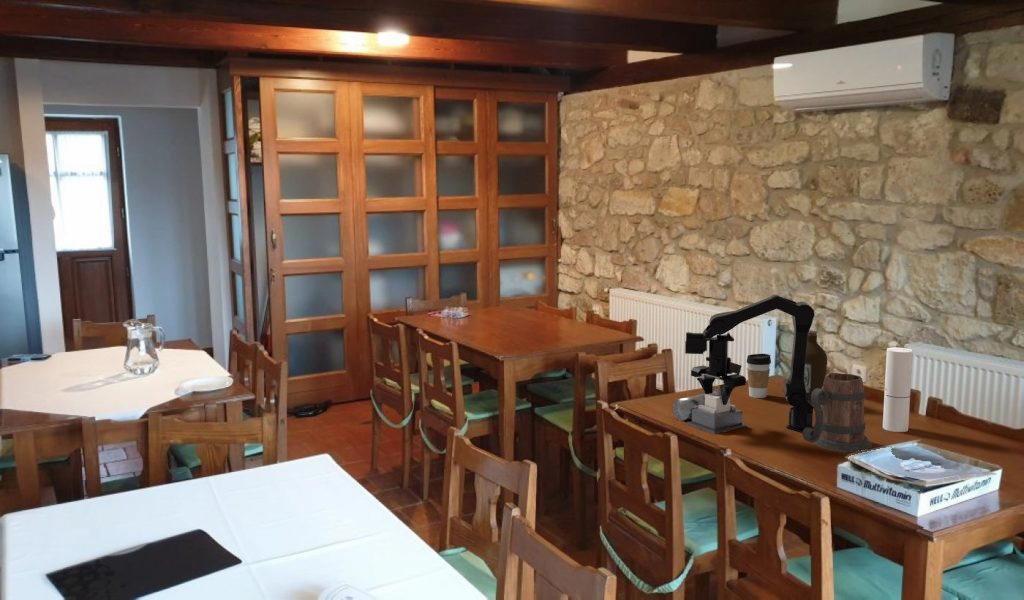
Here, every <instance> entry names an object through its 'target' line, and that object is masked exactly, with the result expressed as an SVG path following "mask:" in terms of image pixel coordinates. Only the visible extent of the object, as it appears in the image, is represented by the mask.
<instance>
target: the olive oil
mask: <svg viewBox="0 0 1024 600" xmlns="http://www.w3.org/2000/svg"><path fill="white" fill-rule="evenodd" d="M817 334H818V331H817V330H809V332H808V338H807V349H806V360H805V371H804V382H805V388H806V397H807V398H808V399H809V400H810V402H811V404H812V400H811V395H812V392H813V390H814V389H816V388H819V389H822V387H823V384H824V379H825V376H826V374H827V368H828V367H827V365H828V356H827V353H826V351H825V350H824V348H823V347H822V346H821V345H820V344H819V342H818V341H817V340H818V335H817ZM812 405H813V404H812Z"/></svg>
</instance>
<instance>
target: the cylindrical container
mask: <svg viewBox="0 0 1024 600" xmlns="http://www.w3.org/2000/svg"><path fill="white" fill-rule="evenodd" d="M913 354H914V353H913V350H912V349H911V348H906V347H900V346H899V347H894V346H892V347H887V348H886V355H885V358H886V359H885V360H886V361H885V378H884V396H883V398H884V399H883V415H882V416H883V417H882V429H883V430H885V431H888V432H889V431H890V432H894V433H905V432H908V430H909V421H910V407H911V405H910V401H911V387H912V384H911V383H912V369H913V368H912V367H913Z"/></svg>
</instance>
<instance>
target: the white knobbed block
mask: <svg viewBox="0 0 1024 600" xmlns="http://www.w3.org/2000/svg"><path fill="white" fill-rule="evenodd" d="M704 394H705V393H704ZM730 404H731V396H730V397H729V399H728V402H727V404H726V405H723V402H722V397H721V391H720V388H719V389H718V388H713V392H712V393H710V394H705V406H706V407H709V408H712V409H715V410H717V413H721V412H725V411H730Z"/></svg>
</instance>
